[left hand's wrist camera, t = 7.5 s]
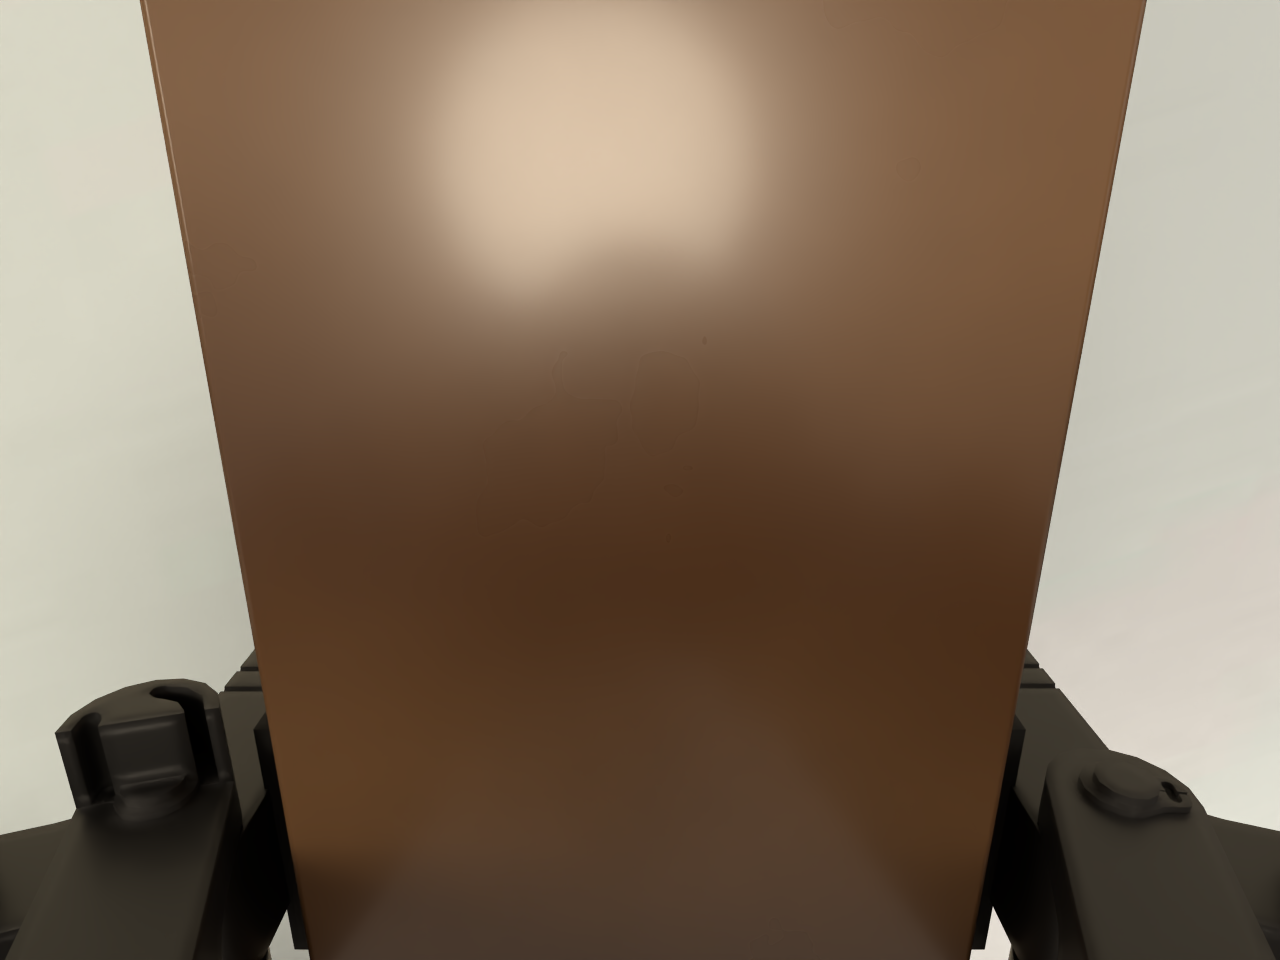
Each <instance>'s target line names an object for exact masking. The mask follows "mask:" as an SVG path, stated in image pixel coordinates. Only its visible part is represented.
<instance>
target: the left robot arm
mask: <svg viewBox="0 0 1280 960" xmlns="http://www.w3.org/2000/svg"><path fill="white" fill-rule="evenodd" d="M55 735H56V739H57V742H58V746H59V749H60V753H61V756H62V760H63V763H64V767H65V770H66V774H67V777H68V781H69V784H70V788H71V791H72V795H73V798H74V802H75V805H76V811H75V813H74V815H73V817H72V819H69V820H65V821H62V822H58V823H54V824H50V825H45V826H40V827H36V828H31V829H26V830H22V831H17V832H12V833H8V834H3V835H0V960H272V959H271V954H270V949H269V945H270V943H271V941H272V939H273V937H274V935H275V933H276V931H277V929H278V927H279V925H280V922H281V920H282V918H283V916H284V914H285V912H286V910H287V911H288V917H289V922H290V927H291V933H292V938H293V943H294V949H308V945H307V939H306V933H305V928H304V922H303V916H302V911H301V905H300V900H299V894H298V888H297V883H296V877H295V871H294V866H293V860H292V854H291V849H290V843H289V838H288V832H287V826H286V821H285V815H284V809H283V804H282V798H281V793H280V787H279V781H278V776H277V770H276V764H275V759H274V753H273V747H272V742H271V736H270V731H269V725H268V719H267V714H266V708H265V702H264V697H263V691H262V686H261V680H260V674H259V669H258V663H257V657H256V652H255V650H254V651H253V652H252V653H251V655H250V656H249V657H248V658H247V660H246V661H245V662H244V663H243V664H242V666H241V670H240V671H237V672H236V673H235V674H234V676H233V677H232V678H231V679H230V681H229V682H228V683H227V684H226V685H225V690H224V692H220V693H219V694H218V693H217V692H216V691H214V690H213V689H212V688H211V687H209V686H208V685H207V684H206V683H202V682H197V681H193V680H188V679H167V680H154V681H150V682H146V683H141V684H137V685H133V686H128V687H125V688H122V689H120V690H117V691H115V692H112V693H110V694H107V695H105V696H103V697H100V698H98V699H95V700H94V701H92V702H91V703H89V704H88V705H86V706H84V707H83V708H81V709H80V710H78V711H77V712H75V713H73V714H72V715H71V716H70V717H69V718H68V719H67V720H66V721H65V722H64V723H63V724H62V726H61V727H60V728H59V729H58V730H57V731H56V732H55ZM992 907H994V909H995V911H996V914H997V916H998V918H999V920H1000V922H1001V924H1002V926H1003V928H1004V930H1005V932H1006V934H1007V936H1008V938H1009V941H1010V943H1011V949H1010V954H1009V959H1008V960H1280V831H1276V830H1271V829H1267V828H1262V827H1257V826H1253V825H1248V824H1243V823H1238V822H1234V821H1229V820H1224V819H1221V818H1217V817H1214V816H1210V815H1207V813H1206V811H1205V809H1204V807H1203V806H1202V804H1201V803H1200V802H1199V801H1198V799H1197V798H1196V797H1195V795H1194V794H1193V793H1192V791H1191V790H1190V789H1189V788H1188V787H1187V786H1185V785H1184V784H1183V783H1181V782H1180V781H1179V780H1177V779H1176V778H1175V777H1173V776H1172V775H1171V774H1169V773H1168V772H1167V771H1165V770H1163V769H1161V768H1159V767H1157V766H1154V765H1152V764H1150V763H1148V762H1146V761H1144V760H1142V759H1140V758H1137V757H1134V756H1130V755H1126V754H1123V753H1119V752H1115V751H1111V750H1109V749H1108V748H1107V747H1106V745H1105V744H1104V743H1103V742H1102V741H1101V739H1100V738H1099V737H1098V736H1097V734H1096V733H1095V732H1094V731H1093V729H1092V728H1091V727H1090V726H1089V725H1088V723H1087V722H1086V721H1085V720H1084V718H1083V717H1082V716H1081V715H1080V714H1079V712H1078V711H1077V710H1076V709H1075V707H1074V706H1073V705H1072V704H1071V702H1070V701H1069V700H1068V699H1067V698H1066V696H1065V695H1064V694H1063V693H1062V691H1061V690H1060V689H1056V688H1055V683H1054V682H1053V680H1052V679H1051V678H1050V677H1049V675H1048V674H1047V673H1046V672H1045V671H1044V669H1043V668H1039V663H1038V662H1037V661H1036V659H1035V658H1034V657H1033V656H1032V655H1031V653H1030V652H1029V651H1028V650H1027V651H1026V657H1025V662H1024V668H1023V673H1022V678H1021V684H1020V689H1019V695H1018V700H1017V706H1016V711H1015V716H1014V722H1013V727H1012V733H1011V738H1010V743H1009V749H1008V754H1007V760H1006V765H1005V771H1004V776H1003V781H1002V787H1001V792H1000V798H999V803H998V808H997V814H996V819H995V825H994V830H993V835H992V841H991V846H990V852H989V857H988V863H987V868H986V873H985V879H984V884H983V890H982V895H981V900H980V906H979V911H978V917H977V922H976V928H975V933H974V938H973V944H972V949H985V945H986V939H987V934H988V929H989V923H990V918H991V913H992Z"/></svg>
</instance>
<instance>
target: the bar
mask: <svg viewBox="0 0 1280 960" xmlns="http://www.w3.org/2000/svg"><path fill="white" fill-rule="evenodd" d="M1146 1H1147V0H140V4H141V10H142V15H143V21H144V27H145V32H146V38H147V44H148V49H149V55H150V60H151V66H152V72H153V77H154V83H155V89H156V94H157V100H158V106H159V111H160V117H161V122H162V128H163V134H164V139H165V145H166V151H167V156H168V162H169V167H170V173H171V179H172V184H173V190H174V196H175V201H176V207H177V213H178V218H179V224H180V229H181V235H182V241H183V246H184V252H185V258H186V263H187V269H188V274H189V280H190V286H191V291H192V297H193V303H194V308H195V314H196V320H197V325H198V331H199V336H200V342H201V348H202V353H203V359H204V365H205V370H206V376H207V381H208V387H209V393H210V398H211V404H212V410H213V415H214V421H215V427H216V432H217V438H218V443H219V449H220V455H221V460H222V466H223V472H224V477H225V483H226V488H227V494H228V500H229V505H230V511H231V517H232V522H233V528H234V534H235V539H236V545H237V550H238V556H239V562H240V567H241V573H242V579H243V584H244V590H245V595H246V601H247V607H248V612H249V618H250V624H251V629H252V635H253V641H254V646H255V652H256V657H257V663H258V669H259V674H260V680H261V686H262V691H263V697H264V702H265V708H266V714H267V719H268V725H269V731H270V736H271V742H272V747H273V753H274V759H275V764H276V770H277V776H278V781H279V787H280V793H281V798H282V804H283V809H284V815H285V821H286V826H287V832H288V838H289V843H290V849H291V854H292V860H293V866H294V871H295V877H296V883H297V888H298V894H299V900H300V905H301V911H302V916H303V922H304V928H305V933H306V939H307V945H308V950H309V956H310V960H970V955H971V949H972V944H973V938H974V933H975V928H976V922H977V917H978V911H979V906H980V900H981V895H982V890H983V884H984V879H985V873H986V868H987V863H988V857H989V852H990V846H991V841H992V835H993V830H994V825H995V819H996V814H997V808H998V803H999V798H1000V792H1001V787H1002V781H1003V776H1004V771H1005V765H1006V760H1007V754H1008V749H1009V743H1010V738H1011V733H1012V727H1013V722H1014V716H1015V711H1016V706H1017V700H1018V695H1019V689H1020V684H1021V678H1022V673H1023V668H1024V662H1025V657H1026V651H1027V646H1028V641H1029V635H1030V630H1031V624H1032V619H1033V613H1034V608H1035V603H1036V597H1037V592H1038V586H1039V581H1040V576H1041V570H1042V565H1043V559H1044V554H1045V548H1046V543H1047V538H1048V532H1049V527H1050V521H1051V516H1052V511H1053V505H1054V500H1055V494H1056V489H1057V483H1058V478H1059V473H1060V467H1061V462H1062V456H1063V451H1064V446H1065V440H1066V435H1067V429H1068V424H1069V418H1070V413H1071V408H1072V402H1073V397H1074V391H1075V386H1076V381H1077V375H1078V370H1079V364H1080V359H1081V353H1082V348H1083V343H1084V337H1085V332H1086V326H1087V321H1088V316H1089V310H1090V305H1091V299H1092V294H1093V288H1094V283H1095V278H1096V272H1097V267H1098V261H1099V256H1100V251H1101V245H1102V240H1103V234H1104V229H1105V223H1106V218H1107V213H1108V207H1109V202H1110V196H1111V191H1112V186H1113V180H1114V175H1115V169H1116V164H1117V158H1118V153H1119V148H1120V142H1121V137H1122V131H1123V126H1124V121H1125V115H1126V110H1127V104H1128V99H1129V93H1130V88H1131V83H1132V77H1133V72H1134V66H1135V61H1136V56H1137V50H1138V45H1139V39H1140V34H1141V28H1142V23H1143V18H1144V12H1145V7H1146Z"/></svg>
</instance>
